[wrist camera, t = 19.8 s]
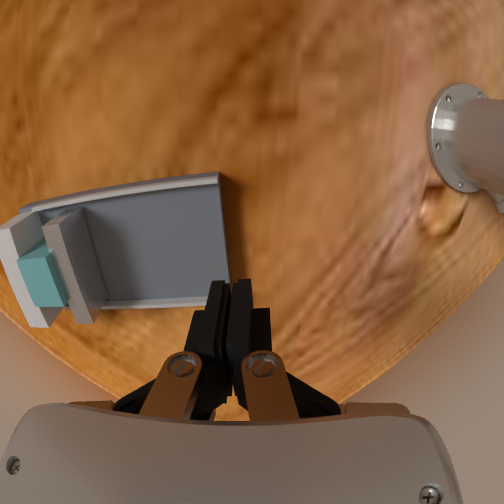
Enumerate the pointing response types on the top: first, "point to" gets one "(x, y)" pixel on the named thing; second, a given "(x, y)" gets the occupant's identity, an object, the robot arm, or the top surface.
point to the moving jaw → (76, 264)
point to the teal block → (41, 276)
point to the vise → (134, 242)
